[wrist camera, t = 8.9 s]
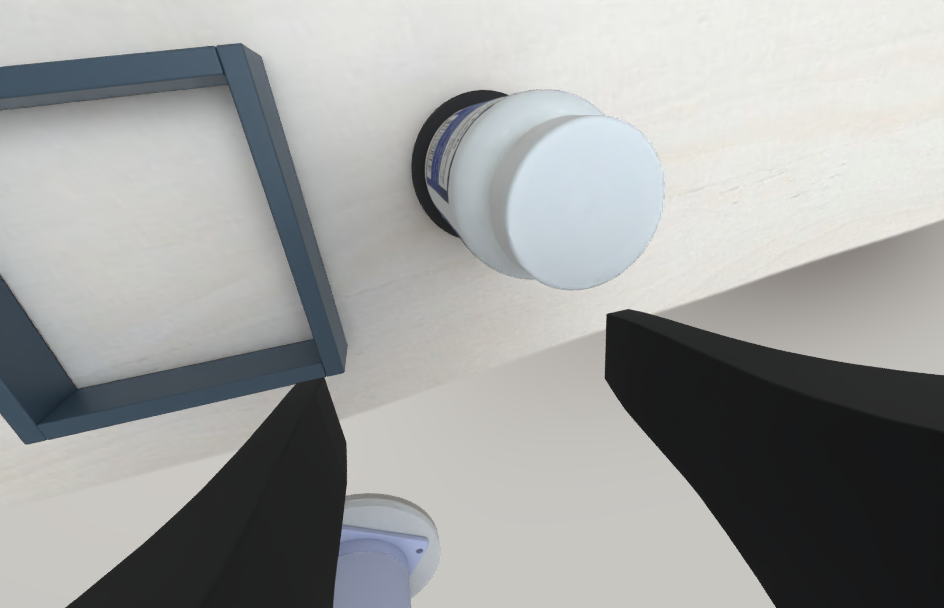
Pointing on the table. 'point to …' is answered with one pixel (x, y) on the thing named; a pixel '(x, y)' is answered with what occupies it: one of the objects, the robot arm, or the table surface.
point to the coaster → (425, 139)
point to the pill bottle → (547, 187)
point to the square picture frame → (75, 411)
